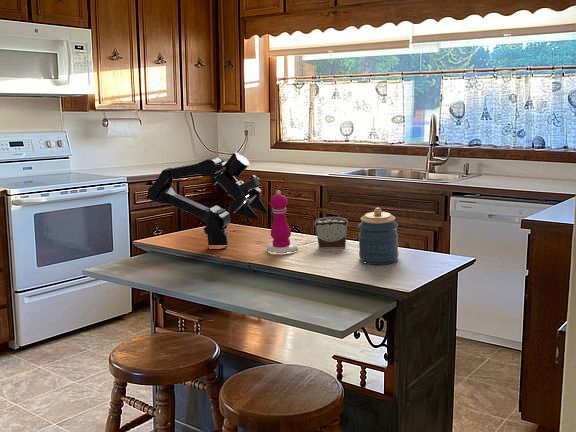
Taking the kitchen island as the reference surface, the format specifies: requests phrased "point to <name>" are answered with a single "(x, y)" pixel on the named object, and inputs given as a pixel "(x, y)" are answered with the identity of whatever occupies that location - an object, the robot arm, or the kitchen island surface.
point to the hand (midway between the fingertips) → (262, 216)
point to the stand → (283, 248)
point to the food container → (331, 232)
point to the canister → (378, 238)
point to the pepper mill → (280, 221)
